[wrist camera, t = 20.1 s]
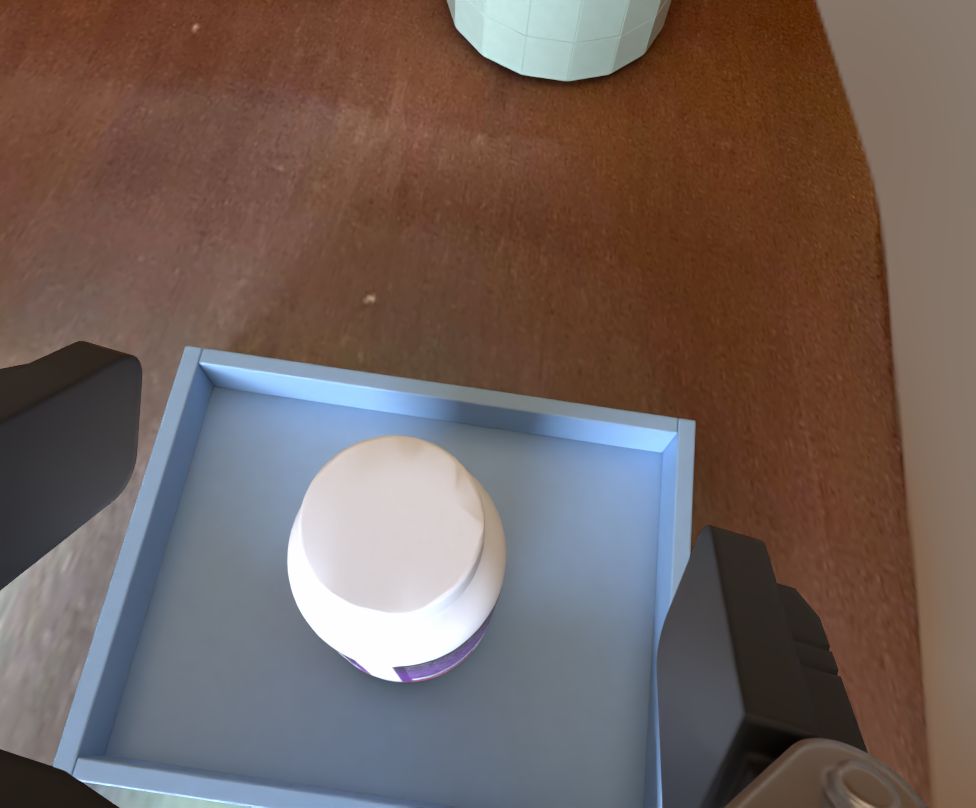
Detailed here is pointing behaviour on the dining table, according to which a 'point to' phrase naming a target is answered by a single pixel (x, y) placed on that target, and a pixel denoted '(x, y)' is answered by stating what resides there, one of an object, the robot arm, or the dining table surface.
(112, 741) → the tray
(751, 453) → the dining table surface
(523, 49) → the bowl
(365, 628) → the pill bottle
